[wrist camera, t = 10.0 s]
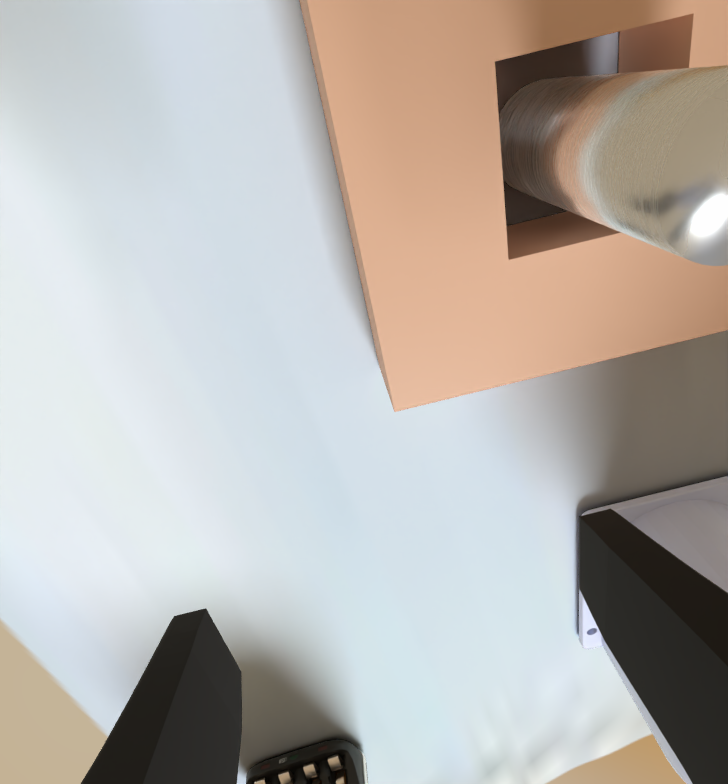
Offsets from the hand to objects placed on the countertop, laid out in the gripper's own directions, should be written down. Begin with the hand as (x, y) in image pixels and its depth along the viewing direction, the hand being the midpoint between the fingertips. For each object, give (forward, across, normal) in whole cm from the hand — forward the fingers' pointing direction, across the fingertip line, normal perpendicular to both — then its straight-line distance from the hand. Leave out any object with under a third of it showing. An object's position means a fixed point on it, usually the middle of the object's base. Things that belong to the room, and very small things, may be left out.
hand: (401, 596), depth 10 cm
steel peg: (+9, -7, -6) cm, 13 cm away
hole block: (+9, -7, -6) cm, 13 cm away
